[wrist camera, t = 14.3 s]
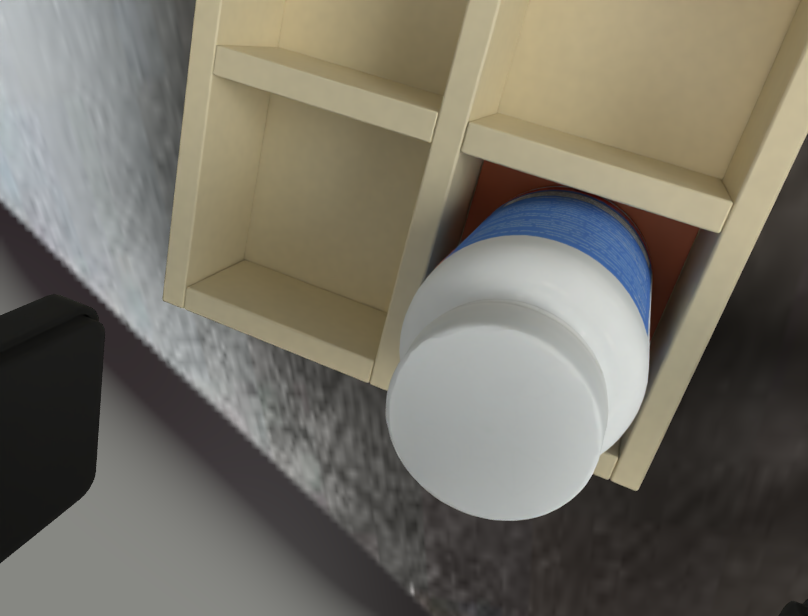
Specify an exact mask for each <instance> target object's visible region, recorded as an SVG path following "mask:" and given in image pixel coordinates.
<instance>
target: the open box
mask: <svg viewBox="0 0 808 616" xmlns="http://www.w3.org/2000/svg"><path fill="white" fill-rule="evenodd" d="M807 133H808V0H196V4H195V13H194V22H193V31H192V40H191V49H190V58H189V67H188V76H187V85H186V94H185V103H184V112H183V120H182V129H181V138H180V147H179V156H178V165H177V174H176V183H175V192H174V201H173V210H172V219H171V228H170V237H169V246H168V254H167V263H166V272H165V281H164V290H163V301H165V302H168V303H170V304H172V305H175V306H177V307H180V308H185V309H186V310H188V311H191V312H193V313H196V314H198V315H201V316H203V317H205V318H208V319H210V320H213V321H215V322H218V323H220V324H223V325H225V326H228V327H230V328H233V329H235V330H238V331H240V332H243V333H245V334H248V335H250V336H253V337H255V338H257V339H260V340H262V341H265V342H267V343H270V344H272V345H275V346H277V347H280V348H282V349H285V350H287V351H290V352H292V353H295V354H297V355H300V356H302V357H305V358H307V359H310V360H312V361H314V362H317V363H319V364H322V365H324V366H327V367H329V368H332V369H334V370H337V371H339V372H342V373H344V374H347V375H349V376H352V377H354V378H357V379H359V380H362V381H364V382H369V381H370V384H371V385H374V386H376V387H379V388H381V389H384V390H386V391H388V388H389V384H390V380H391V378H392V375H393V373H394V371H395V369H396V367H397V365H398V363H399V362H400V354H399V347H400V335H401V329H402V325H403V321H404V318H405V315H406V312H407V310H408V308H409V306H410V303H411V301H412V299H413V297H414V295H415V294H416V292H417V290H418V289H419V287H420V286H421V285H422V283H423V282H424V281H425V280H426V278H427V277H428V276H429V275H430V274H431V272H432V271H433V270H434V269H435V268H436V267H437V266H438V265H439V264H440V262H441V261H443V259H445V258H446V257H447V256H448V255H449V254H450V253H451V252H452V251H453V250H455V249H456V248H457V246H459V245H460V244H461V243H462V242H463V241H464V240H465V239H466V238H467V237H468V236H469V235H470V234H471V233H472V232H473V231H474V230H475V229H476V228H477V227H478V226H479V225H480V224H481V223H482V222H483V221H484V220H485V219H486V218H487V217H488V216H489V215H490V214H491V213H493V212H494V211H495V210H496V209H497V208H498V207H500V206H501V205H502V204H504V203H505V202H507V201H508V200H510V199H512V198H513V197H515V196H517V195H520V194H522V193H524V192H527V191H530V190H533V189H537V188H542V187H549V186H568V187H572V188H575V189H578V190H581V191H584V192H587V193H591V194H594V195H597V196H600V197H603V198H606V199H608V200H609V201H611V202H612V203H614V204H615V205H617V206H618V207H619V208H620V209H621V210H623V211H624V212H625V213H626V214H627V215H628V216H629V217H630V218H631V220H632V221H633V222H634V223H635V225H636V226H637V228H638V229H639V231H640V232H641V234H642V236H643V238H644V240H645V243H646V245H647V248H648V251H649V255H650V258H651V265H652V297H651V315H650V353H649V373H648V382H647V387H646V391H645V395H644V398H643V401H642V403H641V406H640V408H639V411H638V413H637V415H636V416H635V418H634V420H633V421H632V423H631V424H630V426H629V427H628V428H627V430H626V431H625V432H624V434H623V435H622V436H621V437H620V438H619V439H618V440H617V441H616V442H615V444H613V445H612V446H611V447H610V448H609V449H608V450H606V451H605V452H604V453H602V454H601V455H600V457H599V461H598V463H597V466H596V468H595V470H594V472H593V474H594V475H597V476H599V477H602V478H604V479H609V478H610V480H611V481H612V482H615V483H617V484H619V485H622V486H624V487H627V488H629V489H632V490H634V491H637V490H638V489H639V488H640V485H641V483H642V481H643V479H644V477H645V475H646V473H647V471H648V469H649V466H650V464H651V462H652V460H653V458H654V456H655V454H656V452H657V450H658V447H659V445H660V443H661V441H662V439H663V437H664V435H665V433H666V431H667V429H668V426H669V424H670V422H671V420H672V418H673V416H674V414H675V412H676V410H677V407H678V405H679V403H680V401H681V399H682V397H683V395H684V393H685V391H686V388H687V386H688V384H689V382H690V380H691V378H692V376H693V374H694V372H695V369H696V367H697V365H698V363H699V361H700V359H701V357H702V355H703V353H704V350H705V348H706V346H707V344H708V342H709V340H710V338H711V336H712V334H713V331H714V329H715V327H716V325H717V323H718V321H719V319H720V317H721V315H722V313H723V310H724V308H725V306H726V304H727V302H728V300H729V298H730V296H731V294H732V291H733V289H734V287H735V285H736V283H737V281H738V279H739V277H740V275H741V272H742V270H743V268H744V266H745V264H746V262H747V260H748V258H749V256H750V253H751V251H752V249H753V247H754V245H755V243H756V241H757V239H758V237H759V234H760V232H761V230H762V228H763V226H764V224H765V222H766V220H767V218H768V215H769V213H770V211H771V209H772V207H773V205H774V203H775V201H776V199H777V197H778V194H779V192H780V190H781V188H782V186H783V184H784V182H785V180H786V178H787V175H788V173H789V171H790V169H791V167H792V165H793V163H794V161H795V159H796V156H797V154H798V152H799V150H800V148H801V146H802V144H803V142H804V140H805V137H806V135H807Z"/></svg>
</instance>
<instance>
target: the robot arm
mask: <svg viewBox="0 0 808 616" xmlns="http://www.w3.org/2000/svg"><path fill="white" fill-rule="evenodd" d="M104 339H105V329H104V327H103V324H101V323H100V322H99V317H98V315H97V313H96V311H95V310H94V309H93V308H91V307H89V306H86V305H84V304H81V303H79V302H76V301H73V300H71V299H68V298H66V297H63V296H61V295H56V294H53V295H49V296H46V297H43V298H41V299H39V300H36V301H34V302H31V303H29V304H27V305H24V306H22V307H19V308H17V309H15V310H13V311H10V312H8V313H5V314H3V315H0V563H1V562H2V561H4V560H5V559H6V558H7V557H9V556H10V555H11V554H12V553H14V552H15V551H16V550H17V549H19V548H20V547H21V546H22V545H24V544H25V543H26V542H27V541H29V540H30V539H31V538H32V537H34V536H35V535H36V534H37V533H38V532H40V531H41V530H42V529H43V528H45V527H46V526H47V525H48V524H50V523H51V522H52V521H53V520H55V519H56V518H57V517H58V516H60V515H61V514H62V513H63V512H64V511H66V510H67V509H68V508H70V507H71V506H72V505H73V504H74V503H76V502H77V501H78V500H80V499H81V498H82V497H83V496H84V495H85V494H86V492H87V491H88V490H89V488H90V487H91V484H92V483H93V480H94V478H95V473H96V460H97V446H98V431H99V415H100V401H101V385H102V371H103V354H104ZM779 616H808V599H807V600H806V601H805V602H804V603H803V604H800V603H798V602H795V601H791V602H789V603H788V604H787V605H786V606H785V607H784V608H783V610H782V611H781V613H780V614H779Z"/></svg>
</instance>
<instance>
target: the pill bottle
mask: <svg viewBox="0 0 808 616" xmlns="http://www.w3.org/2000/svg"><path fill="white" fill-rule="evenodd" d="M651 297H652V265H651V258H650V255H649V251H648V248H647V245H646V243H645V240H644V238H643V236H642V234H641V232H640V231H639V229H638V228H637V226H636V225H635V223H634V222H633V221H632V220H631V218H630V217H629V216H628V215H627V214H626V213H625V212H624V211H623V210H621V209H620V208H619V207H618V206H617V205H615V204H614V203H612V202H611V201H609V200H608V199H606V198H603V197H600V196H597V195H594V194H591V193H587V192H584V191H581V190H578V189H575V188H572V187H568V186H549V187H542V188H537V189H533V190H530V191H527V192H524V193H522V194H520V195H517V196H515V197H513V198H512V199H510V200H508V201H507V202H505V203H504V204H502V205H501V206H500V207H498V208H497V209H496V210H495V211H494V212H493V213H491V214H490V215H489V216H488V217H487V218H486V219H485V220H484V221H483V222H482V223H481V224H480V225H479V226H478V227H477V228H476V229H475V230H474V231H473V232H472V233H471V234H470V235H469V236H468V237H467V238H466V239H465V240H464V241H463V242H462V243H461V244H460V245H459V246H457V248H456V249H455V250H453V251H452V252H451V253H450V254H449V255H448V256H447V257H446V258H445V259H443V261H441V262H440V264H439V265H438V266H437V267H436V268H435V269H434V270H433V271H432V272H431V274H430V275H429V276H428V277H427V278H426V280H425V281H424V282H423V283H422V285H421V286H420V287H419V289H418V290H417V292H416V294H415V295H414V297H413V299H412V301H411V303H410V306H409V308H408V310H407V312H406V315H405V318H404V321H403V325H402V329H401V335H400V347H399V354H400V362H399V363H398V365H397V367H396V369H395V371H394V373H393V375H392V378H391V380H390V384H389V388H388V392H387V399H386V422H387V425H388V429H389V435H390V438H391V441H392V443H393V446H394V449H395V451H396V453H397V455H398V457H399V459H400V460H401V462H402V463H403V465H404V466H405V468H406V469H407V470H408V472H409V473H410V474H411V475H412V476H413V477H414V478H415V479H416V481H417V482H418V483H419V484H420V485H421V486H422V487H423V488H425V489H426V490H427V491H428V492H429V493H430V494H432V495H433V496H435V497H436V498H437V499H439V500H440V501H442V502H444V503H446V504H447V505H449V506H451V507H453V508H455V509H457V510H459V511H462V512H464V513H467V514H470V515H473V516H477V517H481V518H486V519H491V520H504V521H505V520H511V521H516V520H525V519H531V518H535V517H539V516H542V515H545V514H548V513H550V512H552V511H554V510H556V509H558V508H560V507H561V506H563V505H564V504H566V503H567V502H569V501H570V500H571V499H573V498H574V497H575V496H576V495H577V494H578V493H579V492H580V491H581V490H582V489H583V488H584V486H585V485H586V484H587V482H588V481H589V479H590V478H591V476H592V474H593V472H594V470H595V468H596V466H597V463H598V461H599V457H600V455H601V454H602V453H604V452H605V451H606V450H608V449H609V448H610V447H611V446H612V445H613V444H615V442H616V441H617V440H618V439H619V438H620V437H621V436H622V435H623V434H624V432H625V431H626V430H627V428H628V427H629V426H630V424H631V423H632V421H633V420H634V418H635V416H636V415H637V413H638V411H639V408H640V406H641V403H642V401H643V398H644V395H645V391H646V387H647V382H648V373H649V353H650V315H651Z"/></svg>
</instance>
